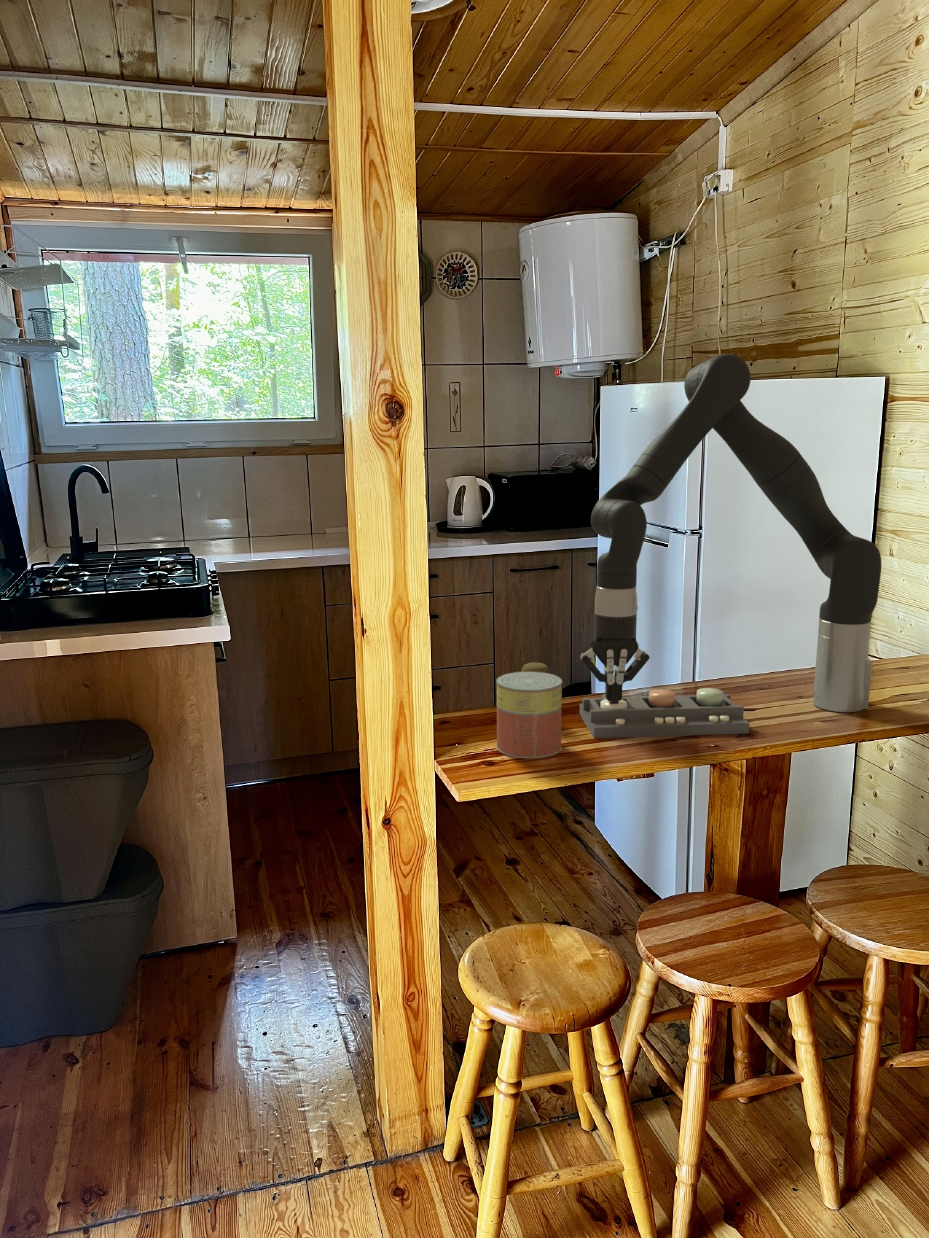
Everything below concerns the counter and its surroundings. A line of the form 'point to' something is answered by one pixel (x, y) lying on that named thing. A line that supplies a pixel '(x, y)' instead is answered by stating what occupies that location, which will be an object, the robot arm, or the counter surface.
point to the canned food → (529, 714)
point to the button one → (613, 705)
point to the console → (663, 718)
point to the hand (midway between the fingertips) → (613, 702)
